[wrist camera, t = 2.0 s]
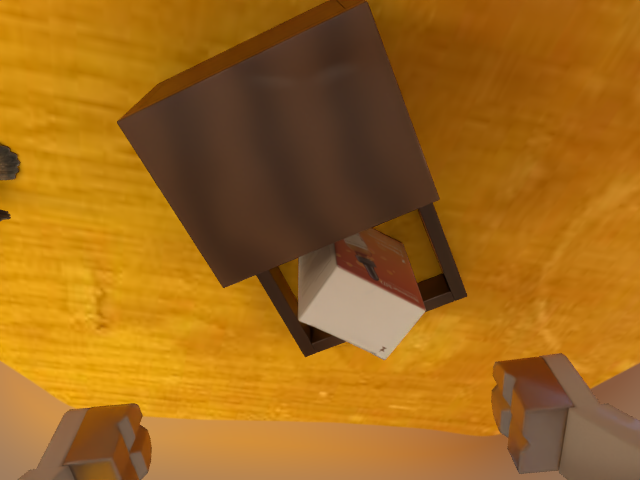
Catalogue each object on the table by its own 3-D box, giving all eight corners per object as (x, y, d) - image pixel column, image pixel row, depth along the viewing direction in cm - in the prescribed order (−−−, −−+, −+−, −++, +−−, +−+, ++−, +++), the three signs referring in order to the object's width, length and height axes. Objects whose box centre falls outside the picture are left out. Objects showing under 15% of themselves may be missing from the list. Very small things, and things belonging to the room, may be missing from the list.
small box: (404, 242, 48) (430, 311, 39) (370, 288, 50) (386, 363, 41) (328, 202, 46) (337, 264, 36) (296, 251, 48) (296, 322, 39)
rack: (349, -10, 38) (367, 0, 29) (458, 278, 50) (495, 351, 41) (157, 84, 41) (115, 121, 31) (304, 337, 53) (306, 418, 43)
